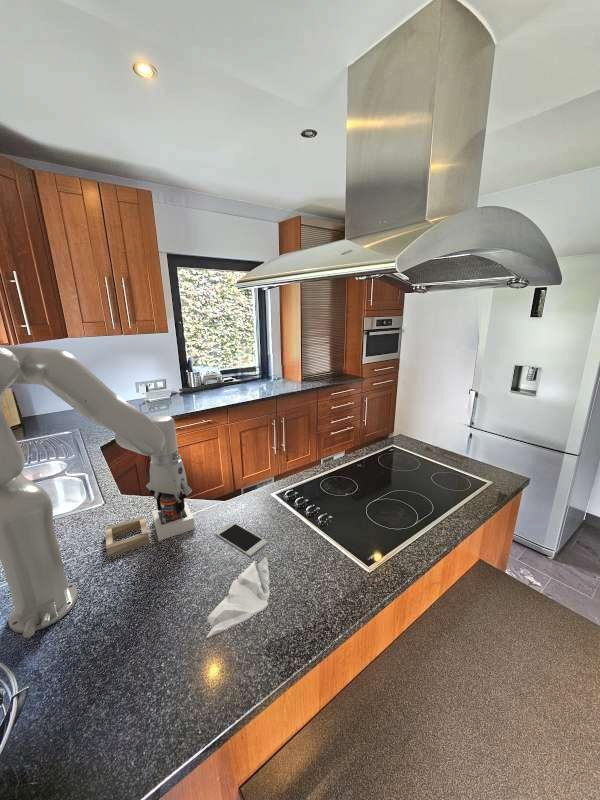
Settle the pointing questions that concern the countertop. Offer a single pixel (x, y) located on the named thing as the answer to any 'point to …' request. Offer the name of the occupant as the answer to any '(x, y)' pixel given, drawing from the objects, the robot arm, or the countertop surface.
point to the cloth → (242, 598)
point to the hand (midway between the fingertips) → (171, 509)
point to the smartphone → (241, 538)
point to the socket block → (173, 524)
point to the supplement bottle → (169, 508)
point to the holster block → (130, 542)
